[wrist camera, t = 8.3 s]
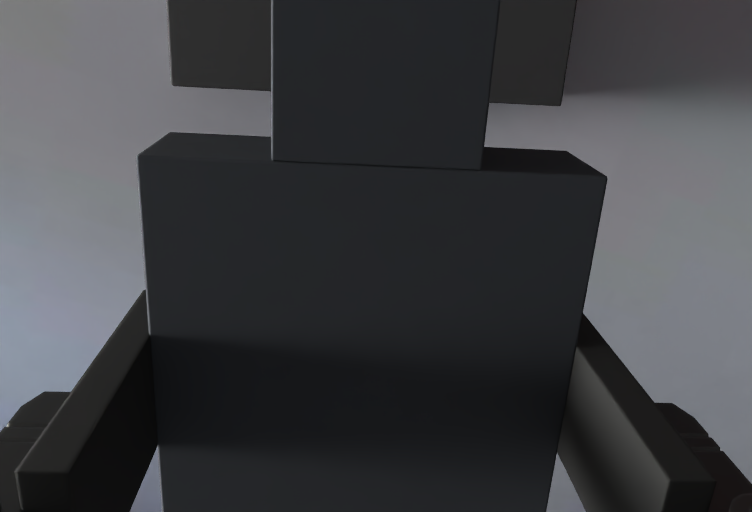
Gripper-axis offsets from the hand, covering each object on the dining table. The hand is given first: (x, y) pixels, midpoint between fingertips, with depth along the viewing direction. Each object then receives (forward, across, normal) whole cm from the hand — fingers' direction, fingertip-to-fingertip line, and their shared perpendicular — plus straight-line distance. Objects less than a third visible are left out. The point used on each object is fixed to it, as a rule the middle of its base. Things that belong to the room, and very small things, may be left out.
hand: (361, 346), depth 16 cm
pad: (0, 0, +2) cm, 2 cm away
